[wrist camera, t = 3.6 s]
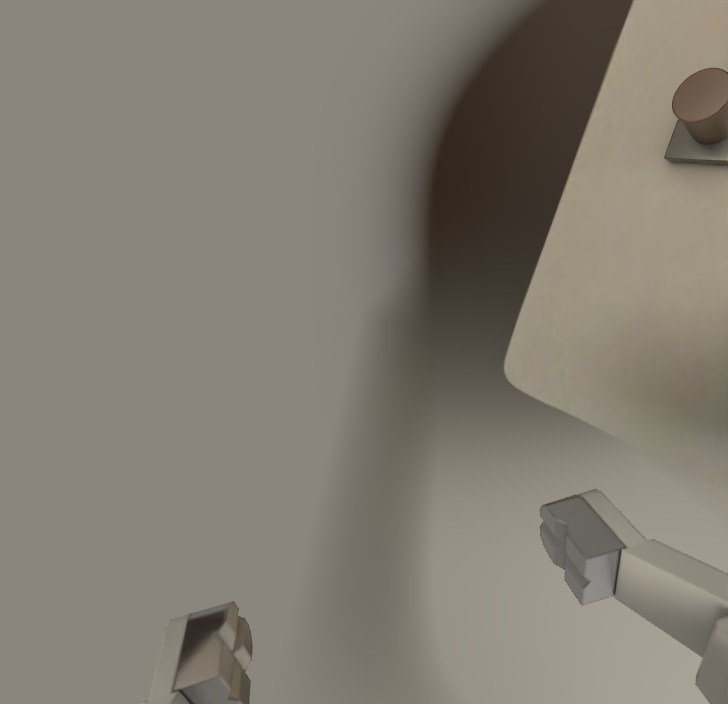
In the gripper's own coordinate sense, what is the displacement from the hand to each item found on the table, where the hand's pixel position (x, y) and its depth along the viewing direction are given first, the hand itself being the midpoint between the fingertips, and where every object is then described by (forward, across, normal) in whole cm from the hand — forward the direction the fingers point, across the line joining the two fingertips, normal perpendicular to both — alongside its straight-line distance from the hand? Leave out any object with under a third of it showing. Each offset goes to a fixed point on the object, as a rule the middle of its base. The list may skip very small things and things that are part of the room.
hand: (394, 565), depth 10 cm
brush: (+26, -35, -4) cm, 43 cm away
